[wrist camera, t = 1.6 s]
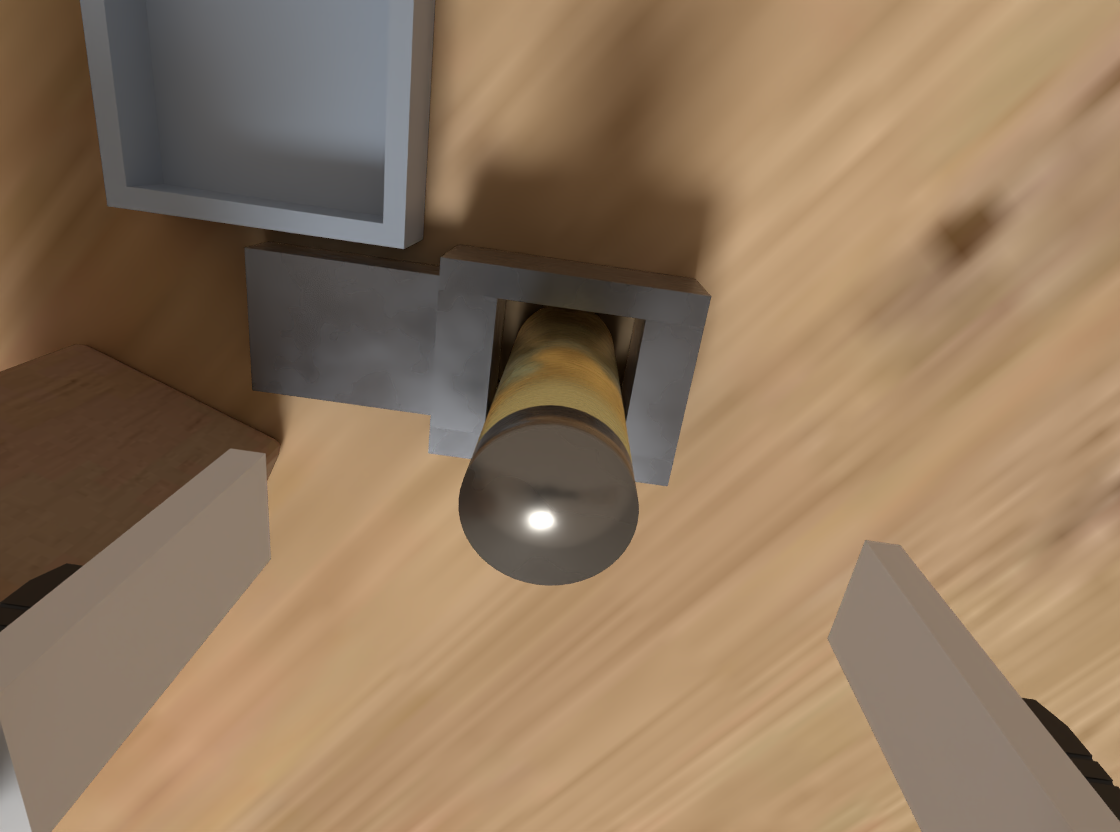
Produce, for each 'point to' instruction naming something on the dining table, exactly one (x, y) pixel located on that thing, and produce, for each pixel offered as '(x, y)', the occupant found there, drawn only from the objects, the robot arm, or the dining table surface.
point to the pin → (553, 457)
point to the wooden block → (95, 456)
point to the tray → (266, 112)
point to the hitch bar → (460, 335)
